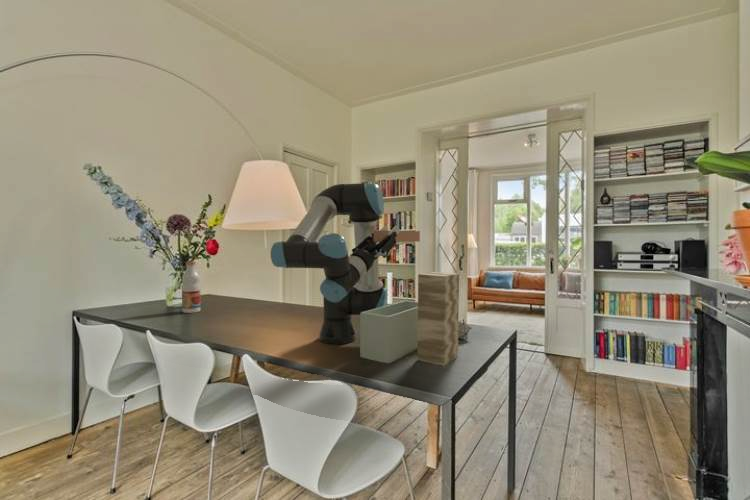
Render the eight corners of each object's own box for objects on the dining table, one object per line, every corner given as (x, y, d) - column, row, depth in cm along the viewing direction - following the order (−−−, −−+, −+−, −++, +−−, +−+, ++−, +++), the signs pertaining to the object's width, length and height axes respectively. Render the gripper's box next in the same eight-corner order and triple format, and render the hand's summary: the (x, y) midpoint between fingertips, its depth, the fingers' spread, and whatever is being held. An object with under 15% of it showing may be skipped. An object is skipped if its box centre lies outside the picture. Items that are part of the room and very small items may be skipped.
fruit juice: (187, 309, 210) (186, 261, 209) (203, 309, 211) (203, 261, 210) (178, 313, 201) (178, 262, 200) (196, 313, 201) (195, 263, 200)
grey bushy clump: (464, 348, 153) (472, 333, 147) (444, 340, 154) (452, 324, 148) (467, 333, 160) (475, 318, 154) (449, 325, 161) (456, 310, 155)
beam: (383, 242, 122) (383, 230, 122) (373, 242, 125) (373, 230, 124) (419, 241, 144) (419, 231, 143) (410, 241, 146) (410, 231, 146)
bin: (388, 363, 123) (388, 316, 122) (360, 356, 130) (360, 312, 129) (429, 342, 148) (430, 303, 147) (404, 337, 155) (404, 300, 154)
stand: (443, 365, 121) (445, 276, 120) (417, 359, 127) (418, 274, 126) (457, 356, 131) (459, 273, 130) (432, 351, 137) (433, 271, 136)
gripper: (340, 272, 121) (375, 237, 137) (383, 276, 111) (415, 238, 127) (333, 253, 118) (369, 220, 134) (376, 255, 108) (410, 219, 124)
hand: (392, 228), depth 130 cm, fingers closed on beam, 4 cm apart
